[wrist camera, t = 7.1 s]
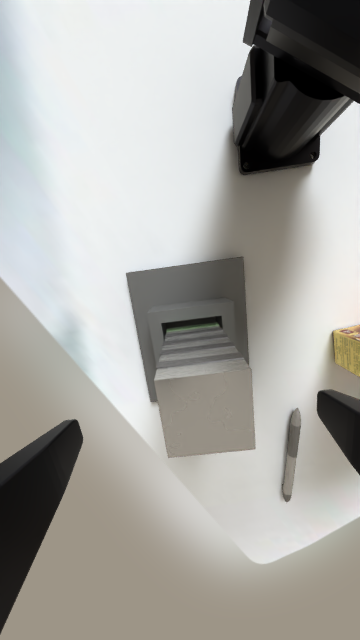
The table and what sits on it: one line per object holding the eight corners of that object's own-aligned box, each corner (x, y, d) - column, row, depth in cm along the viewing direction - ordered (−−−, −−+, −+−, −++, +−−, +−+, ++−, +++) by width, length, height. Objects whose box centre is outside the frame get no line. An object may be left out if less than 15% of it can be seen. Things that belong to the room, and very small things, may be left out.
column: (216, 321, 15) (252, 367, 8) (221, 367, 16) (256, 450, 8) (167, 327, 15) (152, 379, 8) (174, 372, 16) (167, 458, 9)
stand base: (240, 257, 18) (261, 250, 13) (247, 386, 21) (266, 417, 16) (128, 273, 18) (109, 272, 14) (151, 397, 21) (143, 430, 17)
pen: (278, 493, 25) (284, 505, 24) (288, 402, 22) (295, 411, 21) (286, 493, 25) (292, 505, 24) (297, 402, 22) (304, 411, 20)
